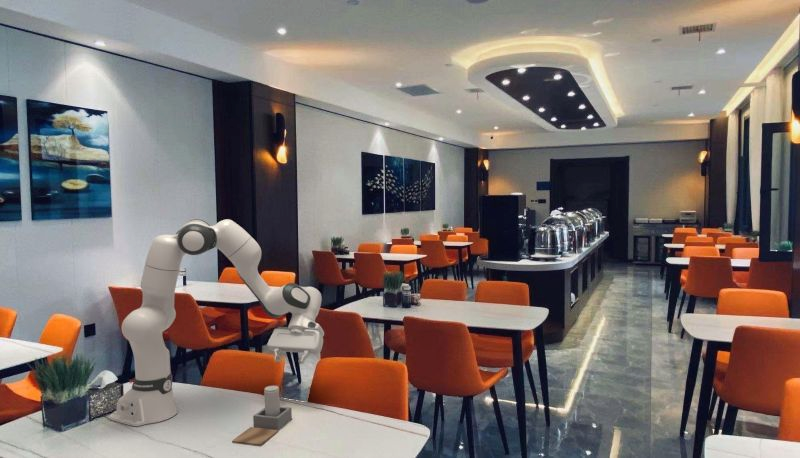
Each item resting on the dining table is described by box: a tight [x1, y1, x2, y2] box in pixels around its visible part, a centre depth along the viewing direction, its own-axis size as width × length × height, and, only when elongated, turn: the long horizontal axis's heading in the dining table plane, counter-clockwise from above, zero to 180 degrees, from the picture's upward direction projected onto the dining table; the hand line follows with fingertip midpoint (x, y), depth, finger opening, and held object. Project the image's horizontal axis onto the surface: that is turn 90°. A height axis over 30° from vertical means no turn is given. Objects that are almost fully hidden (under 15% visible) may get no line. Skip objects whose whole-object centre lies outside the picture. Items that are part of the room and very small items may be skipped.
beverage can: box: [263, 385, 281, 417], centre depth 176 cm, size 5×5×12 cm
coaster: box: [231, 426, 279, 447], centre depth 167 cm, size 10×10×1 cm
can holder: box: [252, 406, 293, 431], centre depth 176 cm, size 9×9×4 cm
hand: (288, 362), depth 187 cm, fingers open, 8 cm apart
